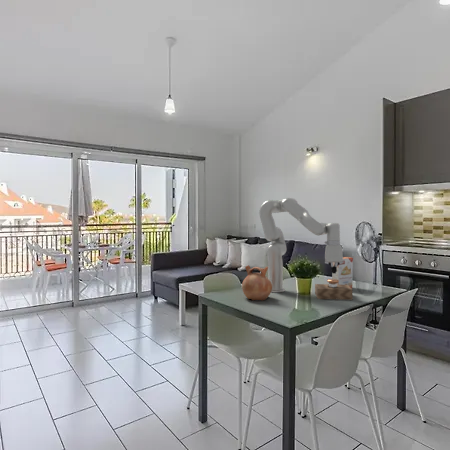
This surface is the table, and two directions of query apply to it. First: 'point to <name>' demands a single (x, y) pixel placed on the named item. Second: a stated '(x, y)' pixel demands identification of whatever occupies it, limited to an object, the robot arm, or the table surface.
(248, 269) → the jug
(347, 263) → the cracker box
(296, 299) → the table surface
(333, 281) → the knob
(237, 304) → the table surface
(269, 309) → the table surface
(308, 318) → the table surface
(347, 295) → the brown patterned box
